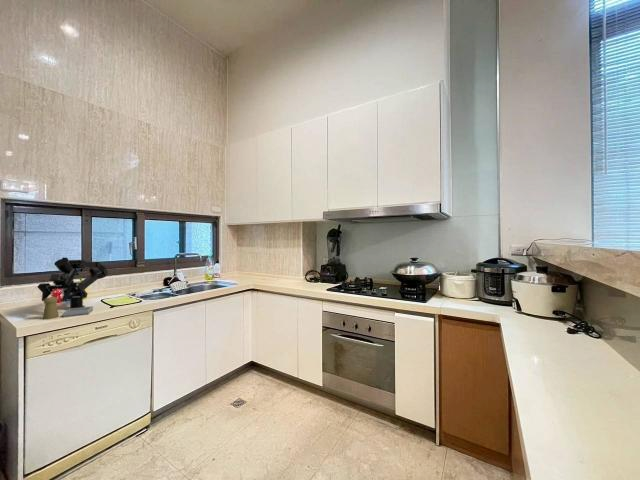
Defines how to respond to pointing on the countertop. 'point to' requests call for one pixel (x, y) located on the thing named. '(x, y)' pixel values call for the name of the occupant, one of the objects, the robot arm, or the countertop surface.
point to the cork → (50, 308)
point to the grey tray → (78, 311)
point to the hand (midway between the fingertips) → (52, 300)
